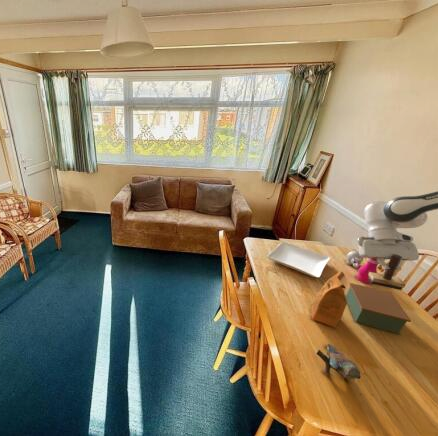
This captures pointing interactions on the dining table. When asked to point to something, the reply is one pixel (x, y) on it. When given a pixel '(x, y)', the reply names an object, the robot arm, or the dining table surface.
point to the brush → (388, 275)
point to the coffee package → (330, 301)
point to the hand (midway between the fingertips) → (392, 269)
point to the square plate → (299, 259)
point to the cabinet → (376, 308)
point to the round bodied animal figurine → (354, 259)
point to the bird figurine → (339, 363)
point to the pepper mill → (367, 270)
